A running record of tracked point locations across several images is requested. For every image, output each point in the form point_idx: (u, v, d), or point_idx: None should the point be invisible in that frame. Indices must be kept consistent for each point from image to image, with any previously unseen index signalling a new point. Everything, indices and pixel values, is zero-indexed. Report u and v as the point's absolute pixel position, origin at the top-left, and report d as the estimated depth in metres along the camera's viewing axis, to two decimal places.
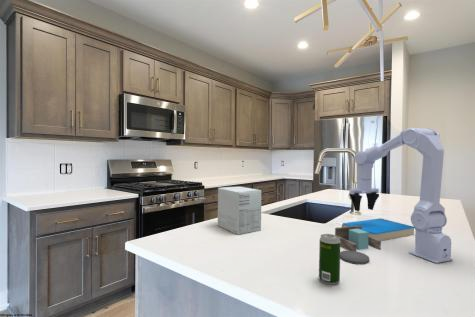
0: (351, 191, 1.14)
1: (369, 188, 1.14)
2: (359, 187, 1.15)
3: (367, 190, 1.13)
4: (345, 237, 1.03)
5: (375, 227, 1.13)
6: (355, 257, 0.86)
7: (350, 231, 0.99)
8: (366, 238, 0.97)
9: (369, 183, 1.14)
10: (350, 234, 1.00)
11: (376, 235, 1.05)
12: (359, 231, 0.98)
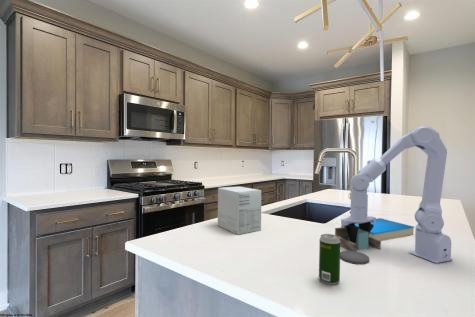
0: (343, 222, 0.96)
1: (364, 218, 0.96)
2: (353, 216, 0.98)
3: (362, 220, 0.96)
4: (345, 237, 1.03)
5: (374, 227, 1.13)
6: (355, 257, 0.86)
7: None
8: (366, 238, 0.97)
9: (364, 212, 0.96)
10: None
11: (375, 235, 1.06)
12: (359, 231, 0.98)
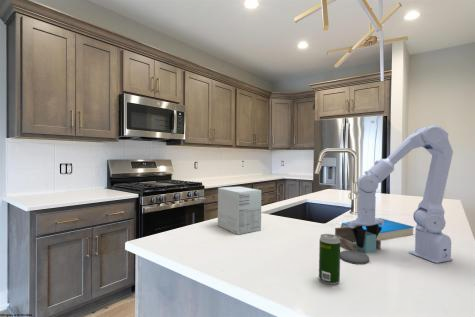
0: (350, 224, 0.93)
1: (372, 220, 0.93)
2: (360, 219, 0.94)
3: (370, 223, 0.93)
4: (345, 237, 1.03)
5: None
6: (355, 257, 0.86)
7: None
8: (374, 241, 0.94)
9: (372, 214, 0.93)
10: None
11: None
12: (366, 233, 0.95)
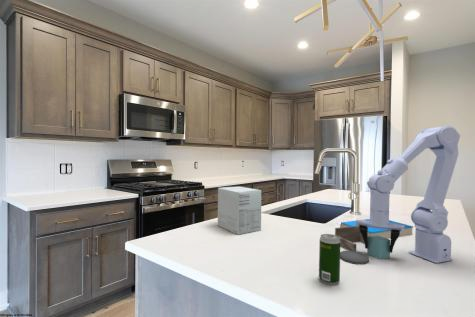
0: None
1: (379, 222, 0.88)
2: None
3: (375, 224, 0.88)
4: (345, 237, 1.03)
5: None
6: (355, 257, 0.86)
7: (370, 238, 0.91)
8: (387, 246, 0.89)
9: (379, 216, 0.88)
10: (369, 241, 0.91)
11: (373, 234, 1.07)
12: (379, 238, 0.90)
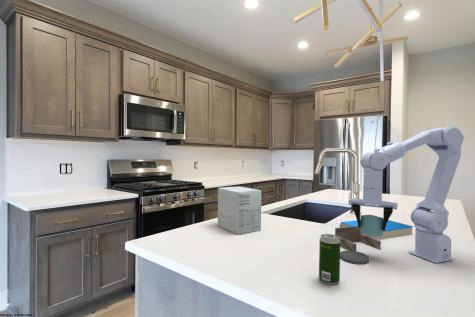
0: None
1: (372, 200, 0.87)
2: None
3: (368, 202, 0.87)
4: (345, 237, 1.03)
5: None
6: (355, 257, 0.86)
7: (363, 216, 0.90)
8: (380, 224, 0.88)
9: (372, 194, 0.87)
10: (362, 220, 0.90)
11: None
12: (372, 217, 0.89)
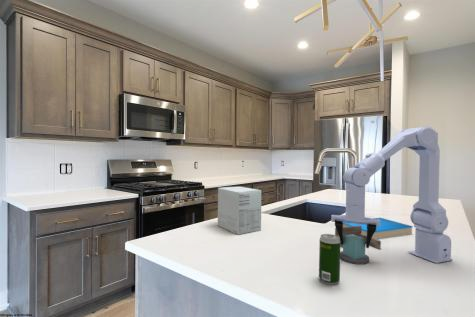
0: None
1: (355, 217, 0.85)
2: None
3: (351, 219, 0.85)
4: None
5: None
6: None
7: (345, 237, 0.88)
8: (363, 245, 0.86)
9: (355, 210, 0.85)
10: (345, 241, 0.88)
11: None
12: (355, 238, 0.87)
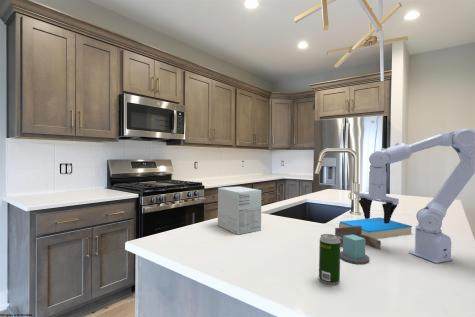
0: None
1: (372, 194, 0.97)
2: None
3: (369, 196, 0.98)
4: None
5: (371, 225, 1.15)
6: None
7: (345, 237, 0.88)
8: (363, 245, 0.86)
9: (372, 188, 0.97)
10: (345, 241, 0.88)
11: (370, 233, 1.08)
12: (355, 238, 0.87)
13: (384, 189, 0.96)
